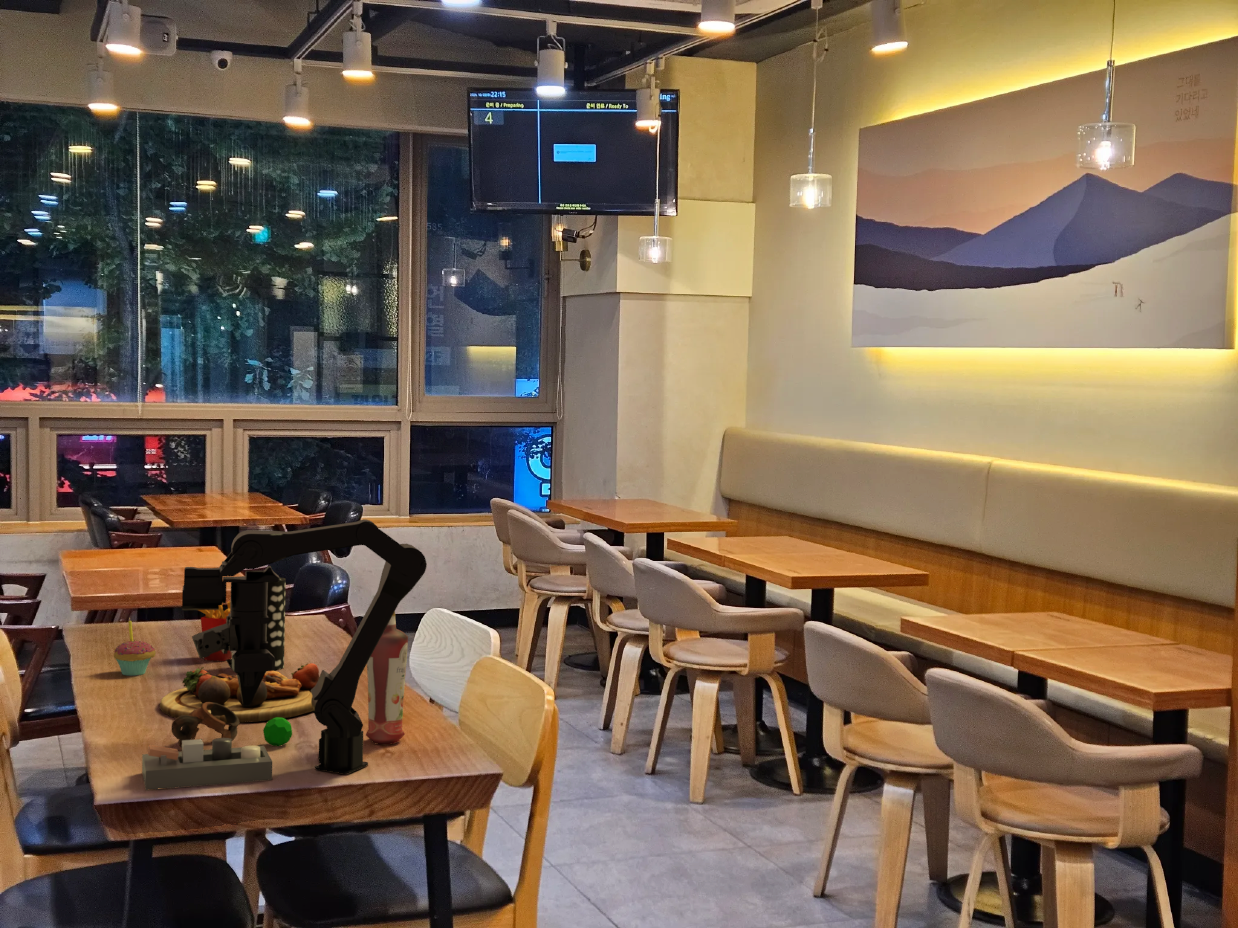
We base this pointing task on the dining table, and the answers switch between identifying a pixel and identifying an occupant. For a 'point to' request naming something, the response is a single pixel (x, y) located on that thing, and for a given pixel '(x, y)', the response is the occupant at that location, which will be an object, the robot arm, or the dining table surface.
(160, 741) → the dining table surface
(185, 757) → the grey square button
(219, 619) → the french fries
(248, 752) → the white cylinder
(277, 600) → the spotted tube
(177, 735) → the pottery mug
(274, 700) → the wooden plate with food
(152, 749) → the terracotta rocker
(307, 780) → the dining table surface
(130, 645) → the cupcake
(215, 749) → the black round button
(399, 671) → the liquor
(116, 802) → the dining table surface
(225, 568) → the robot arm
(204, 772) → the panel
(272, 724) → the polyhedron
